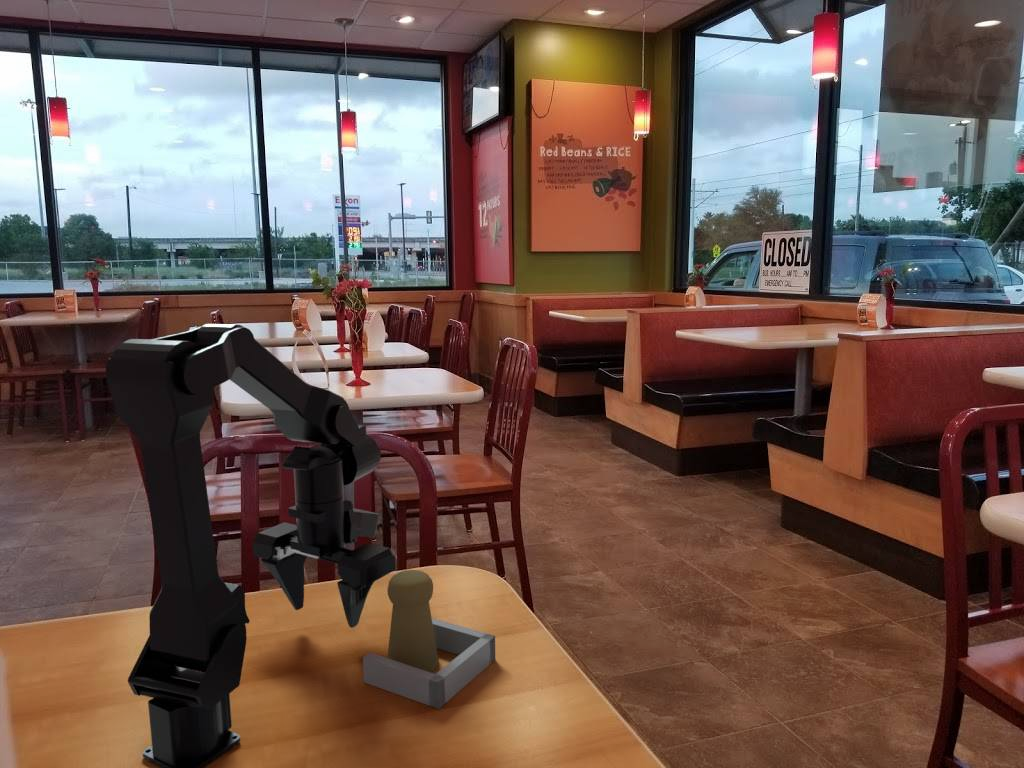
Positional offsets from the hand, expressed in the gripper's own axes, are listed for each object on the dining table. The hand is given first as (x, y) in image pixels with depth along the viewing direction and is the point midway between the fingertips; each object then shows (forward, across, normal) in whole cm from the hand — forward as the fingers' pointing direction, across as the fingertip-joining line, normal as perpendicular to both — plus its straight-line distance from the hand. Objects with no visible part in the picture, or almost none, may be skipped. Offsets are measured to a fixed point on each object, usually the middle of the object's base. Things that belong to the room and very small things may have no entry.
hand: (325, 617), depth 96 cm
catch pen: (+2, -16, 0) cm, 16 cm away
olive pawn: (+3, -13, 0) cm, 14 cm away
